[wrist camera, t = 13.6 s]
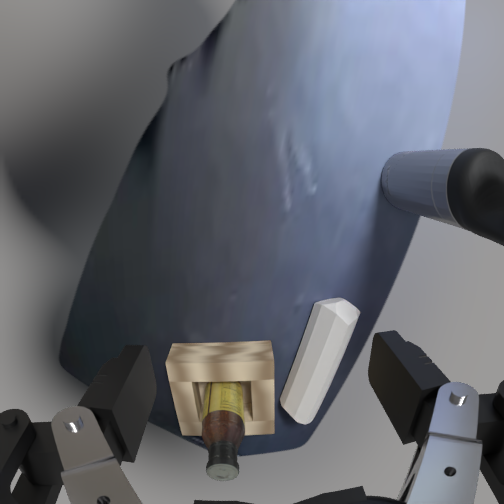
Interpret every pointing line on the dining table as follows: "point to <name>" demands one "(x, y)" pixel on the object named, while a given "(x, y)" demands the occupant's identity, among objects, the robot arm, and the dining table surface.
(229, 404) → the sauce bottle
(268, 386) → the socket block
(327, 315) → the crystal
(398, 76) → the dining table surface
